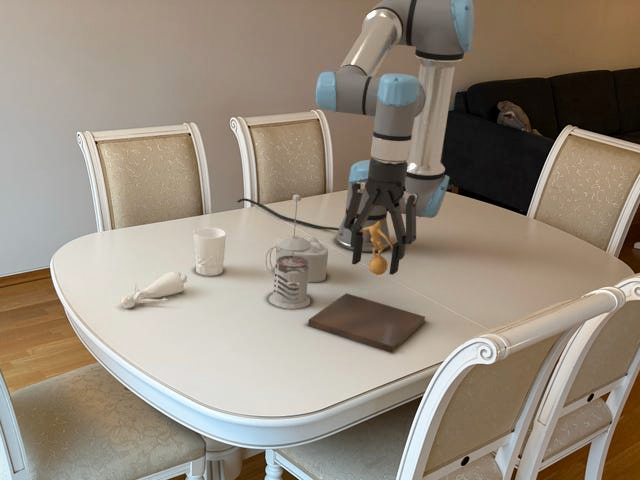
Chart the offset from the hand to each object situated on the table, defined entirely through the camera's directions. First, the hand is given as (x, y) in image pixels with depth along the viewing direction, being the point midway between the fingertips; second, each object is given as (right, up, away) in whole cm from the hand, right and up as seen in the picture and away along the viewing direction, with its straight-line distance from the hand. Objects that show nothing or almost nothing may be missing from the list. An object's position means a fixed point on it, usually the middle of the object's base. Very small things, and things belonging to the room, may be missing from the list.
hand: (374, 267), depth 149 cm
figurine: (0, -2, +1) cm, 2 cm away
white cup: (-38, +3, +27) cm, 47 cm away
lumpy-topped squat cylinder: (-15, +2, +30) cm, 33 cm away
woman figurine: (-49, -6, +11) cm, 51 cm away
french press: (-19, -5, +16) cm, 25 cm away
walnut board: (-1, -12, +7) cm, 13 cm away
